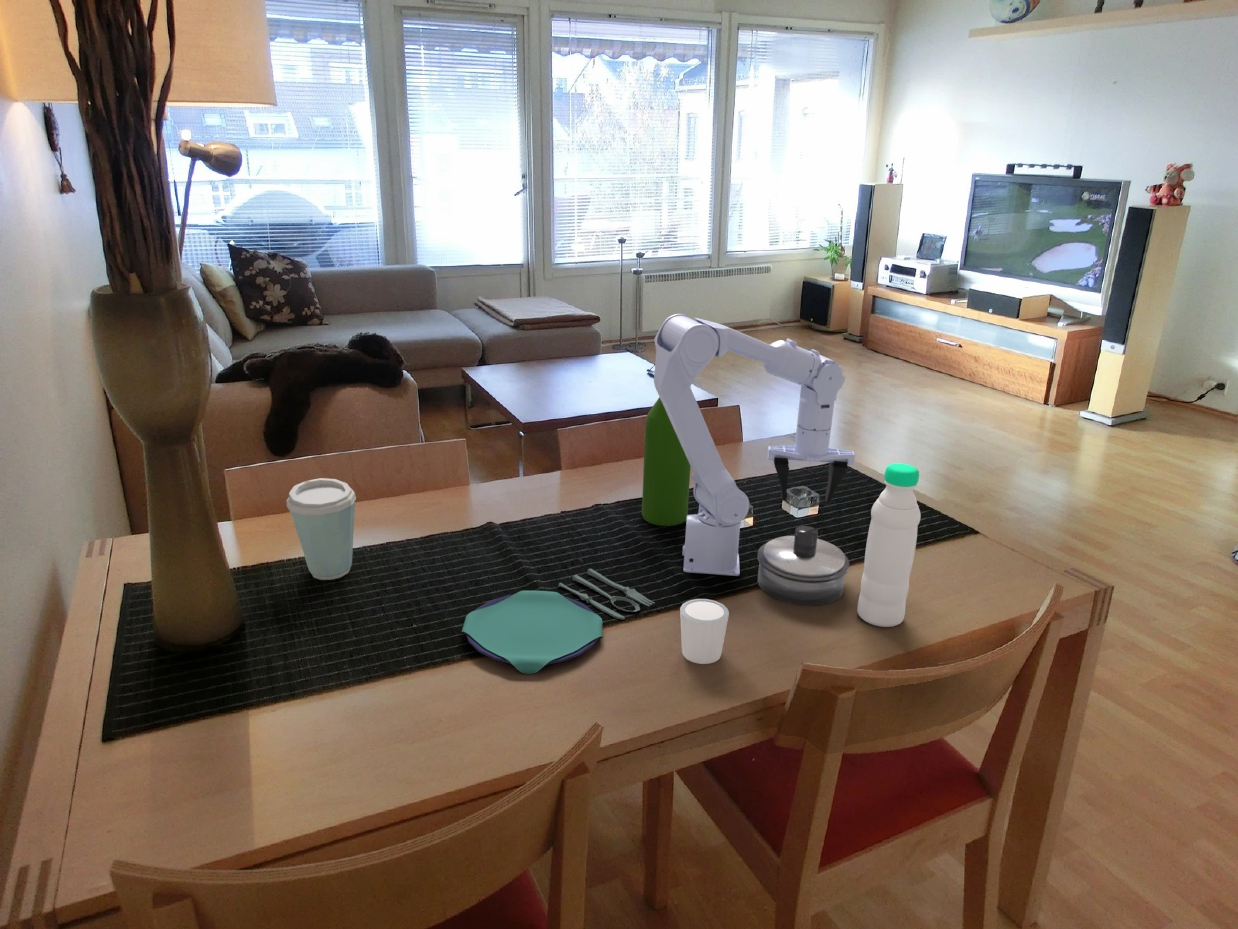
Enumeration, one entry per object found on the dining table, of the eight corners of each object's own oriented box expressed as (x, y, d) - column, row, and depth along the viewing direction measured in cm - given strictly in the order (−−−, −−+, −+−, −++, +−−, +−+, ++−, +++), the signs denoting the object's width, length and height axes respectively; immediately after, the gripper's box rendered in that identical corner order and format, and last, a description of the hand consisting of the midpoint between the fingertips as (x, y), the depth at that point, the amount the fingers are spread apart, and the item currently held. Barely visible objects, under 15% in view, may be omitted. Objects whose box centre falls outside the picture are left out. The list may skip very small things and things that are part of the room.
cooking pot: (757, 603, 136) (759, 575, 135) (753, 561, 150) (755, 535, 148) (851, 610, 135) (855, 582, 133) (839, 567, 149) (842, 541, 147)
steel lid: (763, 574, 135) (766, 544, 133) (762, 539, 147) (765, 511, 145) (848, 582, 133) (852, 552, 131) (840, 545, 145) (843, 517, 143)
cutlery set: (437, 633, 126) (437, 619, 125) (584, 571, 146) (585, 559, 145) (525, 693, 113) (525, 679, 112) (672, 616, 134) (673, 603, 133)
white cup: (712, 672, 118) (715, 628, 116) (668, 656, 121) (671, 613, 119) (733, 649, 124) (737, 606, 121) (691, 635, 127) (693, 593, 124)
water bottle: (878, 633, 129) (902, 478, 120) (846, 611, 135) (867, 462, 126) (913, 622, 132) (939, 471, 123) (880, 602, 138) (903, 456, 129)
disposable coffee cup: (375, 572, 142) (368, 488, 137) (315, 594, 135) (305, 507, 130) (341, 551, 149) (334, 471, 144) (282, 571, 142) (272, 488, 137)
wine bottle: (695, 514, 168) (705, 352, 157) (673, 530, 161) (682, 361, 150) (656, 504, 173) (663, 345, 161) (633, 518, 166) (639, 354, 154)
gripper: (772, 430, 142) (765, 505, 147) (861, 435, 141) (851, 511, 146) (769, 418, 149) (763, 490, 153) (854, 423, 147) (845, 495, 152)
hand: (805, 499), depth 150 cm, fingers open, 7 cm apart
